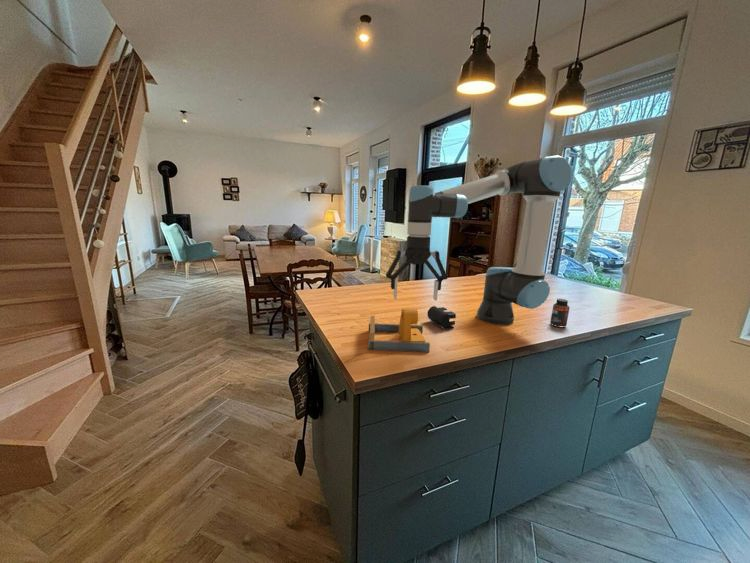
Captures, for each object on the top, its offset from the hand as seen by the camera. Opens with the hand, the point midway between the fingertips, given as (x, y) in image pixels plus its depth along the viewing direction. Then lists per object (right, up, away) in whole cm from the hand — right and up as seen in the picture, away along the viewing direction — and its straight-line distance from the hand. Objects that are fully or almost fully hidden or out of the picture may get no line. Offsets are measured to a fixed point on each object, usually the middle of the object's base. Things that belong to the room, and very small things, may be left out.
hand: (415, 298), depth 102 cm
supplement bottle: (+64, -13, +26) cm, 70 cm away
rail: (-6, -15, +3) cm, 16 cm away
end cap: (+13, -12, +20) cm, 27 cm away
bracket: (-1, -15, +4) cm, 16 cm away
